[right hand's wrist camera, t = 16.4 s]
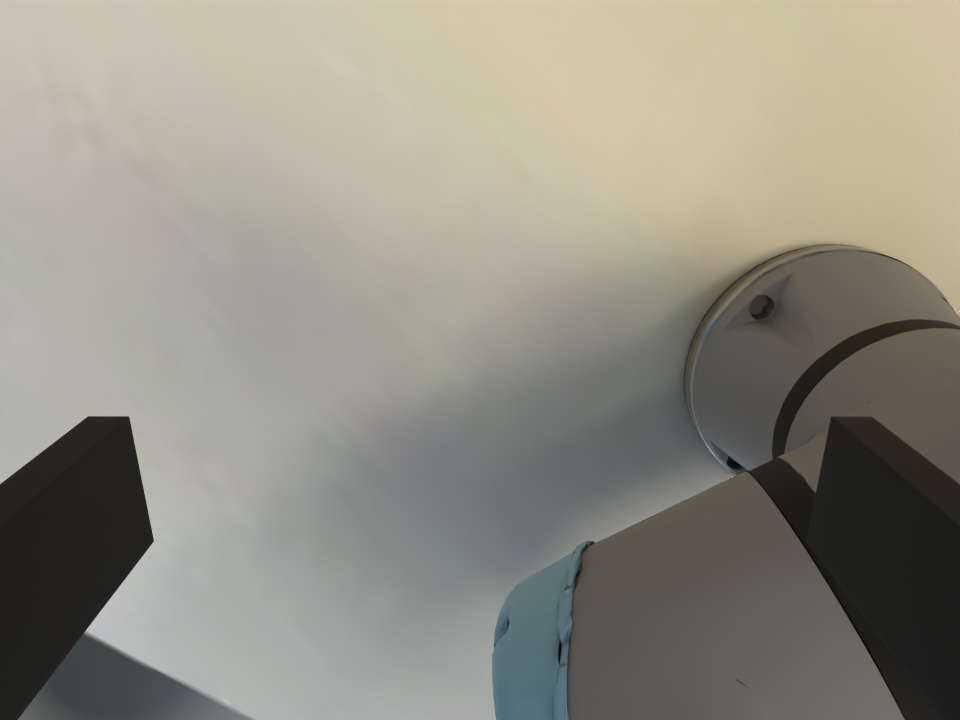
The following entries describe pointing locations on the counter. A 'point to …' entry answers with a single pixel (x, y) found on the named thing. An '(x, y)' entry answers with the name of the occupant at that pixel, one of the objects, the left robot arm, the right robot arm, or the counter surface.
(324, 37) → the counter surface
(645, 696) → the right robot arm
